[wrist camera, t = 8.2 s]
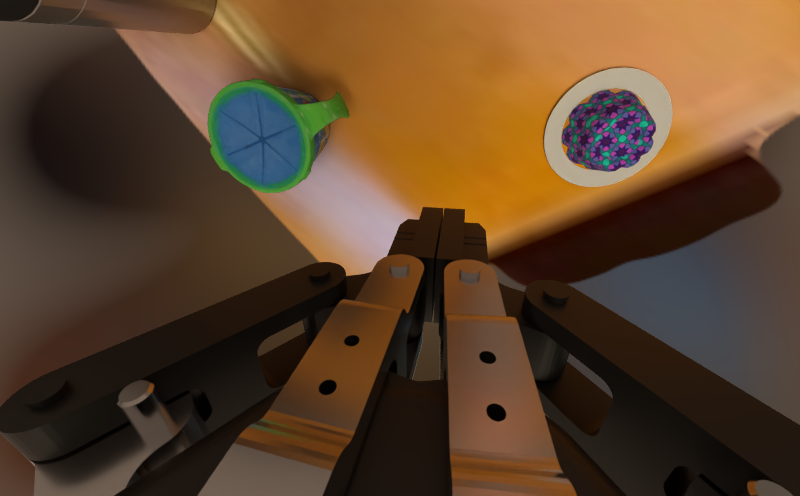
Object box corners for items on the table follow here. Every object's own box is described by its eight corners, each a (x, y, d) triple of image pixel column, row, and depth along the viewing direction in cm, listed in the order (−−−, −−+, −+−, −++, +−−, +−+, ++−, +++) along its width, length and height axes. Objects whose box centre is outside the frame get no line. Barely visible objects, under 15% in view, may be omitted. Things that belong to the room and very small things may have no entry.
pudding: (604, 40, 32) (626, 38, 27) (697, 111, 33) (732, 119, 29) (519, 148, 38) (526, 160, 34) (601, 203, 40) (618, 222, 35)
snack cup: (345, 55, 36) (307, 56, 28) (374, 151, 41) (349, 177, 32) (230, 95, 41) (165, 106, 32) (267, 177, 45) (220, 206, 37)
